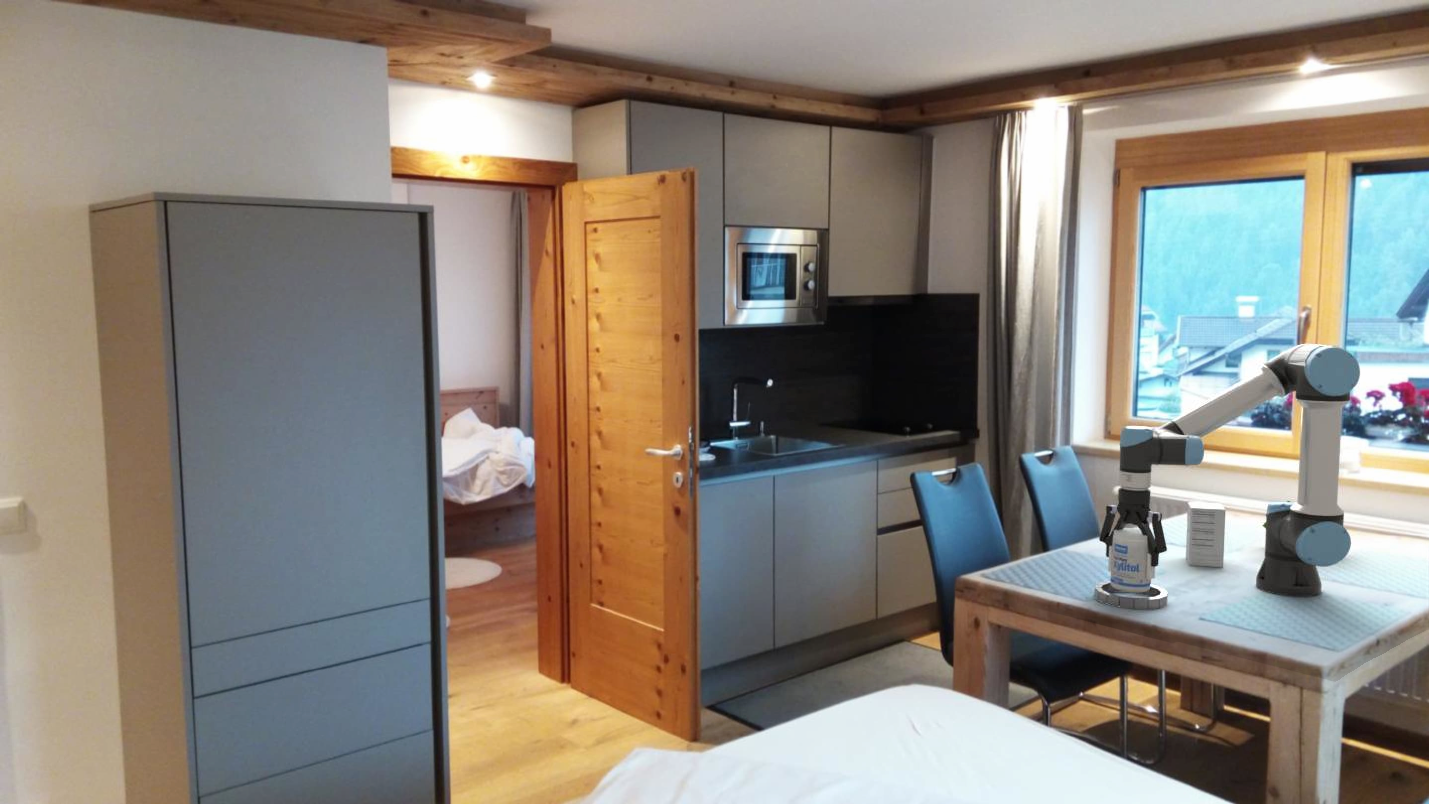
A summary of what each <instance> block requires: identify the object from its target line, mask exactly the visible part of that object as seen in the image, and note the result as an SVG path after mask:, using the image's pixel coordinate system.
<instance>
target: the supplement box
mask: <svg viewBox="0 0 1429 804" xmlns="http://www.w3.org/2000/svg"><path fill="white" fill-rule="evenodd" d="M1226 511H1227V510H1226V508H1225V507H1224V506H1223V504H1222V503H1210V502H1207V503H1206V502H1194V501H1193V502H1192V501H1191V502H1189V501H1188V502H1187V512H1186V513H1187V518H1186V519H1187V520H1186V521H1187V524H1186V538H1185V539H1186V541H1185V542H1186V544H1185V560H1186V562H1187V564H1188V566H1195V565H1196V566H1197V567H1209V566H1210V567H1212V568H1222V567H1223V568H1224V561H1225V560H1224V553H1225V535H1226V531H1225V529H1226V528H1225V527H1226ZM1196 566H1195V567H1196ZM1210 567H1209V568H1210Z"/></svg>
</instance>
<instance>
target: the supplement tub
mask: <svg viewBox="0 0 1429 804" xmlns="http://www.w3.org/2000/svg"><path fill="white" fill-rule="evenodd" d="M1152 534H1153V535H1154V532H1152ZM1147 542H1148V541H1147V536H1145V535H1143V534H1142V532H1141V530H1140V529H1139V528H1134V527H1133V528H1132V527H1124V528H1123V529H1121V530H1114V535H1113V544H1112V561H1111V571H1110V580H1109V581H1110V584H1111V586H1112V587H1113V588H1115V589H1118V590H1121V591H1125V592H1124V593H1134V592H1146V591H1148V590H1149V589H1150V585H1152V583H1151V582H1152V579H1150V580H1148V579H1146V574H1147V554H1148V553H1151V552H1150V550H1149V548H1148V543H1147Z"/></svg>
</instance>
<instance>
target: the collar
mask: <svg viewBox="0 0 1429 804" xmlns="http://www.w3.org/2000/svg"><path fill="white" fill-rule="evenodd" d="M1115 591H1121V590H1118V589H1115V588H1113V587H1112V586H1111V584H1110V580H1109V581H1108V580H1107V581H1103V582H1099V583H1097V584H1096V585H1095V587H1094V598H1095V597H1096V598H1097V599H1098V600H1100V601H1102V602H1104V603H1107V604H1110V605H1109V606H1111V605H1114V606H1113V607H1115V606H1120V607H1126V608H1125V609H1128V608H1131V609H1130V610H1145V609H1148V610H1156V609H1155V608H1157V609H1160V608H1164V607H1166V606H1167V604H1168V596H1169V595H1168V594H1169V593H1168V591H1167V590H1165V589H1164V588H1162V587H1160V586H1157V585H1154V584H1151V585H1150V589H1149V590H1148V591H1146V592H1136V594H1141V593H1143V594H1142V595H1145V594H1146V596H1150V597H1130V596H1123V595H1118V594H1113V593H1115ZM1108 592H1109V593H1108ZM1096 598H1095V599H1096ZM1097 599H1096V600H1097ZM1098 600H1097V601H1098ZM1100 601H1099V602H1100ZM1102 602H1101V603H1102ZM1104 603H1103V604H1104ZM1107 604H1106V605H1107ZM1120 607H1119V608H1120Z"/></svg>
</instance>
